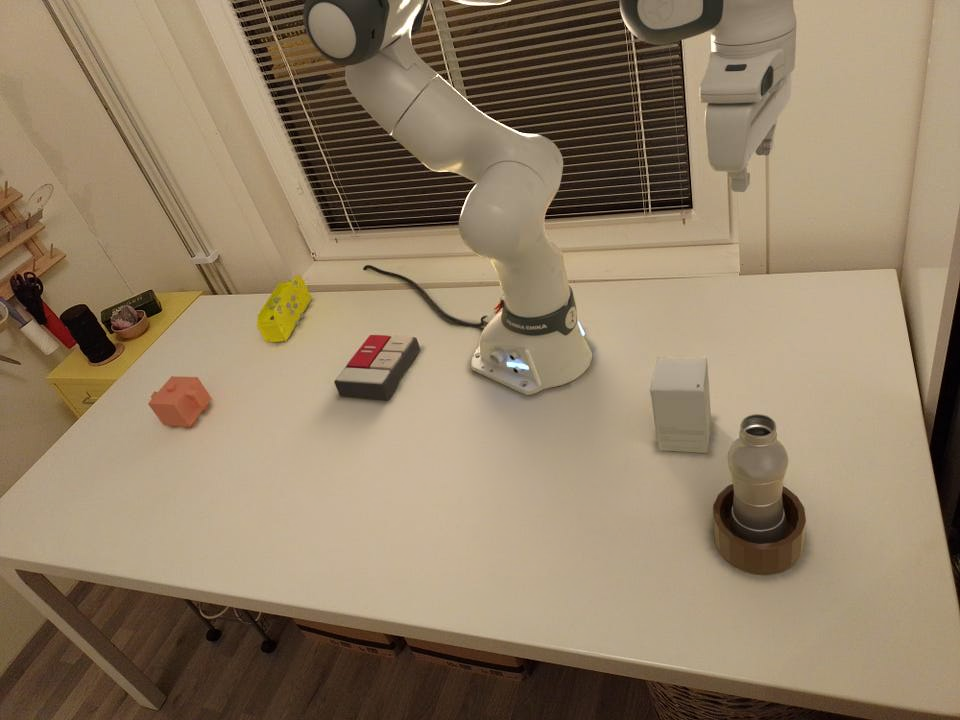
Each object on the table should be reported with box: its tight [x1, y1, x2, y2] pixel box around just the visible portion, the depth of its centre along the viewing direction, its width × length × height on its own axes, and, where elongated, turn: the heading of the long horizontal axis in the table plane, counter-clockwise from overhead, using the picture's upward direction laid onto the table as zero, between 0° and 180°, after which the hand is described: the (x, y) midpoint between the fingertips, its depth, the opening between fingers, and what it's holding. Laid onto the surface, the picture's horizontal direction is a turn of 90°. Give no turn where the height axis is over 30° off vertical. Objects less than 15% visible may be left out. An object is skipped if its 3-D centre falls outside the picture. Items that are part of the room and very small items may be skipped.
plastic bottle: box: [726, 413, 789, 544], centre depth 84 cm, size 6×7×20 cm
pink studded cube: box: [147, 375, 213, 428], centre depth 139 cm, size 8×12×8 cm, turn 72°
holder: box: [712, 483, 807, 576], centre depth 89 cm, size 11×11×6 cm
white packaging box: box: [649, 356, 712, 454], centre depth 103 cm, size 7×7×13 cm
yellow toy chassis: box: [256, 275, 312, 344], centre depth 157 cm, size 16×6×8 cm, turn 169°
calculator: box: [333, 334, 421, 401], centre depth 136 cm, size 11×4×15 cm
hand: (752, 170), depth 88 cm, fingers open, 8 cm apart
